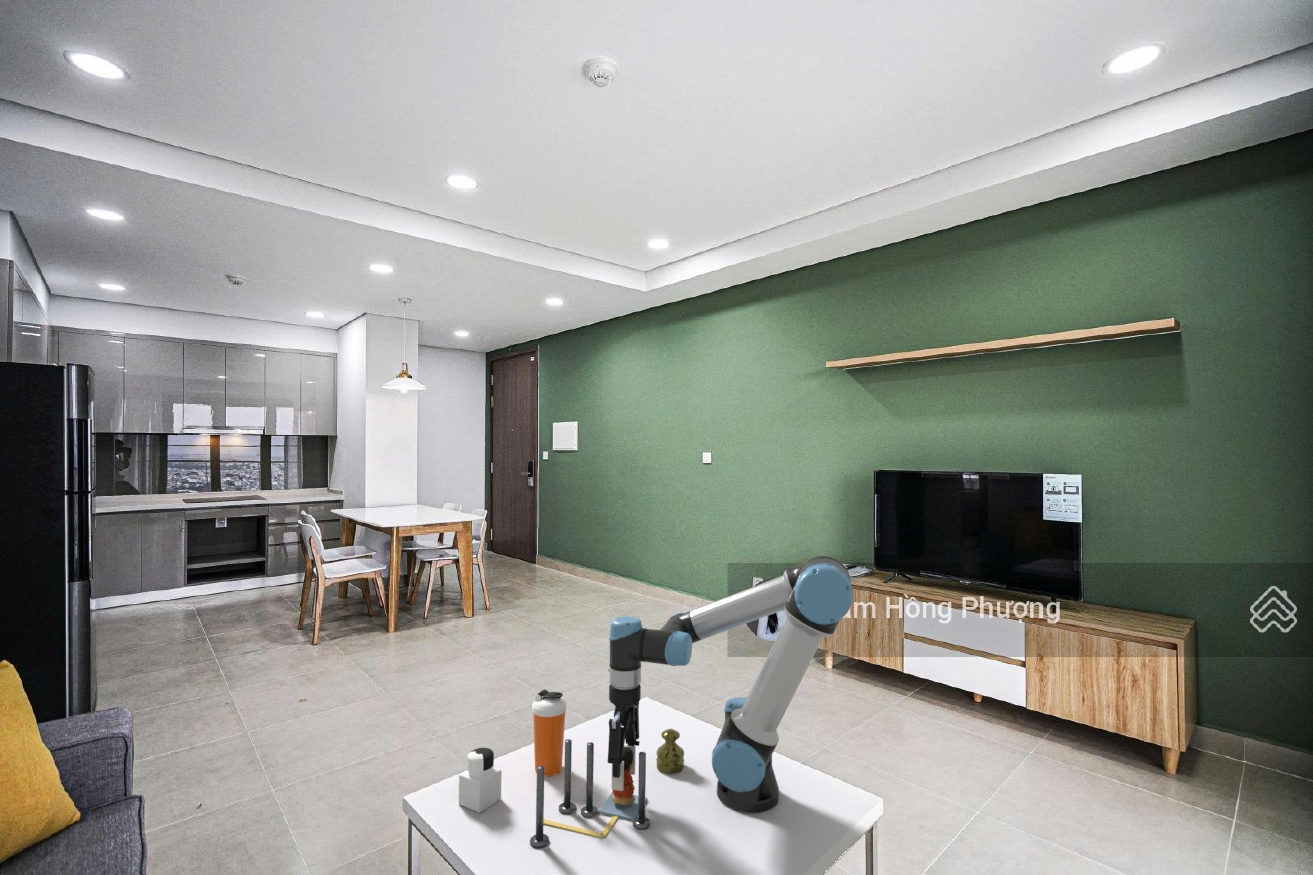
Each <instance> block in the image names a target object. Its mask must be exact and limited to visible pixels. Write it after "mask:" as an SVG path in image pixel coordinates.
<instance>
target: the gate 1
mask: <svg viewBox="0 0 1313 875" xmlns="http://www.w3.org/2000/svg"><path fill="white" fill-rule="evenodd" d="M572 742H573V740H572V739H570V738H568V739H567V738H566V739H564V768H563V769H564V771H563V772H564V774H563V775H564V776H563V777H564V779H563V787H564V788H563V802H562V803H560V804H559V805H558V812H559V813H560V814H563V815H570V814H573V813H574V812H576V810H577V804H575V803H574V802H573V801H572V751H573V750H572V749H573V748H572V746H573V744H572ZM535 790H536V791H535V792H536V796H535V797H536V798H535V800H536V802H535V803H536V804H535V834H534V835H533V836H531V837H530V839H529V845H530V846H531V848H534V849H542V848H545V847H547V846H548V845H549V842H550V838H549V835H547V834H545V833H544V820H545V819H544V818H545V816H544V811H545V809H544V808H545V805H544V804H545V776H544V766H538V767H537V773H536V789H535Z"/></svg>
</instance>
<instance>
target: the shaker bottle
mask: <svg viewBox="0 0 1313 875" xmlns="http://www.w3.org/2000/svg"><path fill="white" fill-rule="evenodd" d="M563 696H564V694H563V693H562V692H561V691H548V690H547V689H542V690H541V691H539V692H538V693H537V694H535V695H534V701H533V702H532V711H531V712H532V715H533V716H532V717H533V742H534V743H533V744H534V745H533V747H534V750H533V752H534V771H535V773H536V774H537V767H538V766H544V777H548V776H549V777H550V776H554V775H557V774H559V773H560V772H561V771H562V769H563V758H564V757H563V756H564V755H563V754H564V743H565V725H566V724H565V723H566V720H565V719H566V711H567V701H566V700H565V698H564V697H563Z"/></svg>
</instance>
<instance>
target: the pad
mask: <svg viewBox="0 0 1313 875" xmlns="http://www.w3.org/2000/svg"><path fill="white" fill-rule="evenodd" d="M612 795H613V791H611V793H610V794H609V796H608V797H607V798H606V799H605V801H604V802H603V804H601V806H600V808H598V814H599V815H604V816H609V817H611V818H612V817H613V816H618V819H622V820H626V821H631V822H633V820H634V819H635V818H637V817H638V795H636V794H633V795H634V796H635V801H634V802H633V803H631V804H628V805H626V806H625V805H620V804H616V803H614V802H613V801H612ZM647 801H648V797H646V796H645V804H646V803H647Z"/></svg>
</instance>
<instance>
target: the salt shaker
mask: <svg viewBox="0 0 1313 875" xmlns="http://www.w3.org/2000/svg"><path fill="white" fill-rule="evenodd" d="M660 735H661V736H660V737H661V738H662V740H663V739H664V741H665V742H664V743H663V744H662V745H660V746H659V747H658V748H657V749H656V756H657V757H656V769H657V771H659V772H661V773H662V774H666V775H676V774H679V773H681V772H682V771H684V768H685V757H684V756H685V750H684V749H683V748H682V747H681V746H680V745H679V744H678V743H676V741H677V740H678V739H679V738H680V737H681V734H680V732H679V731H677V730H675V729H674V728H668V729H665V730H663V731H662V732H661V734H660Z"/></svg>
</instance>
